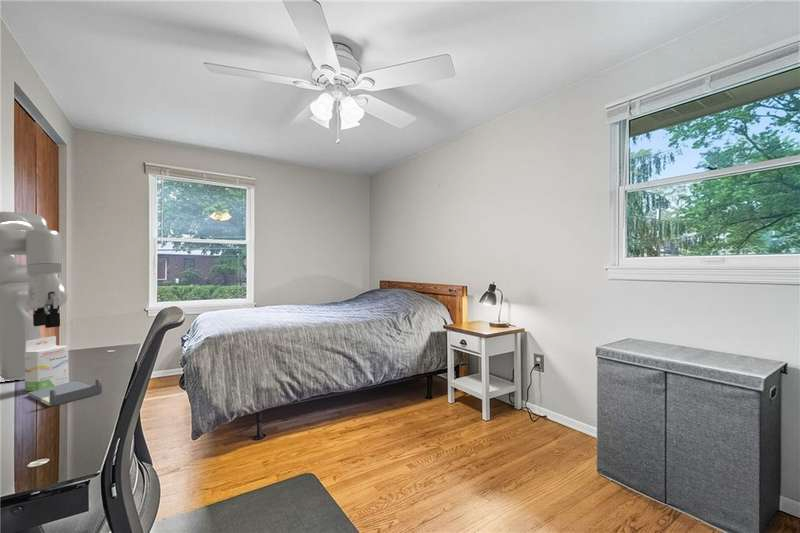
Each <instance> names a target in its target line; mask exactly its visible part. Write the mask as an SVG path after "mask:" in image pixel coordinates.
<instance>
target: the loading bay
mask: <svg viewBox="0 0 800 533" xmlns="http://www.w3.org/2000/svg"><path fill="white" fill-rule="evenodd" d="M94 383H95V384H93V385H90V384H86V383H83V382H80V381H78V380H77V381H72V382H68V383H65V384H62V385H58V386H54V387H50V388H45V389H41V390H37V391H27V394H28V395H27V396H28V397H29V398H32V399H34V400H36V401H38V402H41V403H42V404H44V405H46V406H49V407H56V406H59V405H62V404H67V403H70V402H73V401H77V400H81V399H85V398H89V397H93V396H96V395H101V394H102V393H103V387H102V386H103V384H102V379H101V378H97V379H95V382H94ZM100 393H101V394H100Z"/></svg>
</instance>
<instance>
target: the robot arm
mask: <svg viewBox="0 0 800 533" xmlns="http://www.w3.org/2000/svg"><path fill="white" fill-rule="evenodd" d="M61 252H62V250H61V235H60V232H59V231H57V230H53V229H48V222H47V220H46V219H45V218H44V217H43V216H41V215H40V214H37V213H28V212H16V211H0V376H1V377H2V378H4V380H10V381H13V380H20V381H25V342H26V341H29V340H35V339H41V338H42V337H41V327H43V326H44V327H45V328H47V329H48V328H57V327H58V328H59V327H60V326H61V313H60V312H61V311H60V307H62V306H64V305H65V304H66V303H67V300H68V292H67V289H66V287H65V285H64V283H63V282H62V279H61V278H60V277H59V275H62V255H61V254H62V253H61ZM18 255H19V256H25V260H26V261H25V262H26V263H25V264H21V263H19V261H18V260H17V258H15V257H14V256H18ZM31 311H32V314H31ZM40 344H42V341H40V342H39V343H36V345H40Z"/></svg>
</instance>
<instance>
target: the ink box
mask: <svg viewBox="0 0 800 533" xmlns="http://www.w3.org/2000/svg"><path fill="white" fill-rule="evenodd" d="M40 338H41V339H35V340H29V341H26V342H25V380H24V383H25V384H24V388H25V389H24V390H25V391H27V392H32V391H37V390H41V389H45V388H50V387H54V386H58V385H63V384H67V383H70V381H69V380H70V379H69V374H70V373H69V345H57V336H55V335H53V336H47V337H40ZM40 341H41V342H43V343H41V344H40V345H36V343H39V342H40ZM44 342H45V343H44Z"/></svg>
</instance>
